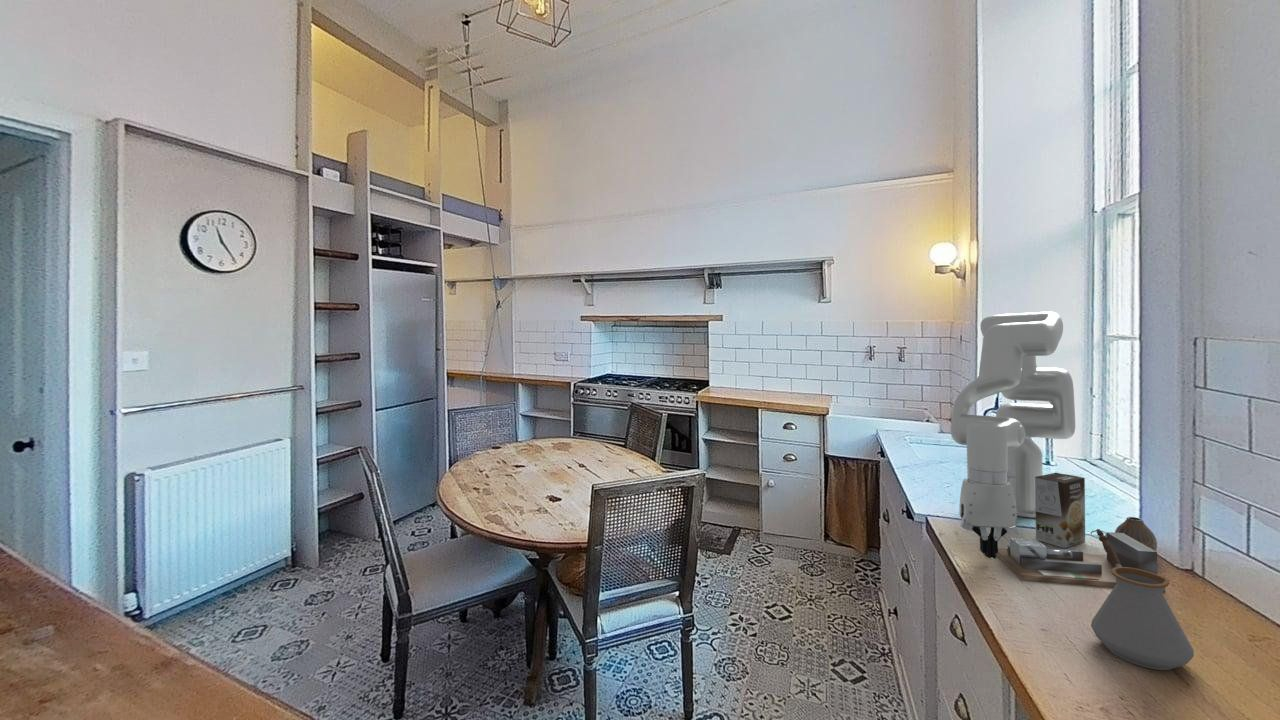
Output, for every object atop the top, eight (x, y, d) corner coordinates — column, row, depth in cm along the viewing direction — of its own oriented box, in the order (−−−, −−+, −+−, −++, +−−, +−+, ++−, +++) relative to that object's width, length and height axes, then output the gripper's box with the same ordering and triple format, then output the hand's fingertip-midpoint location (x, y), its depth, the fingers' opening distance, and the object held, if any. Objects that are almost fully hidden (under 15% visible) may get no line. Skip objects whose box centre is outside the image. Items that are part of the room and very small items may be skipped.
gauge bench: (1022, 579, 102) (1021, 547, 102) (993, 551, 116) (993, 523, 115) (1165, 591, 95) (1164, 556, 95) (1117, 560, 109) (1116, 529, 109)
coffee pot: (1213, 687, 70) (1212, 585, 69) (1108, 667, 75) (1107, 572, 74) (1139, 611, 89) (1138, 531, 89) (1060, 599, 94) (1058, 524, 94)
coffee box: (1065, 549, 115) (1064, 483, 115) (1034, 539, 121) (1033, 476, 121) (1086, 541, 119) (1085, 477, 119) (1055, 532, 125) (1054, 471, 124)
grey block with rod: (1029, 574, 102) (1029, 553, 102) (1010, 556, 110) (1010, 537, 110) (1091, 578, 99) (1091, 557, 99) (1067, 560, 107) (1066, 540, 107)
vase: (1166, 563, 106) (1166, 524, 106) (1129, 562, 108) (1128, 523, 107) (1140, 550, 113) (1140, 513, 113) (1106, 549, 114) (1105, 512, 114)
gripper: (1018, 472, 111) (1019, 551, 111) (944, 470, 115) (946, 546, 115) (1034, 481, 104) (1036, 566, 104) (955, 479, 108) (957, 560, 108)
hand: (989, 555), depth 110 cm, fingers closed
